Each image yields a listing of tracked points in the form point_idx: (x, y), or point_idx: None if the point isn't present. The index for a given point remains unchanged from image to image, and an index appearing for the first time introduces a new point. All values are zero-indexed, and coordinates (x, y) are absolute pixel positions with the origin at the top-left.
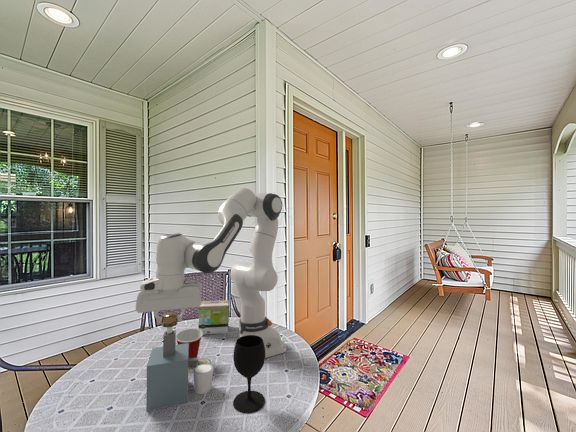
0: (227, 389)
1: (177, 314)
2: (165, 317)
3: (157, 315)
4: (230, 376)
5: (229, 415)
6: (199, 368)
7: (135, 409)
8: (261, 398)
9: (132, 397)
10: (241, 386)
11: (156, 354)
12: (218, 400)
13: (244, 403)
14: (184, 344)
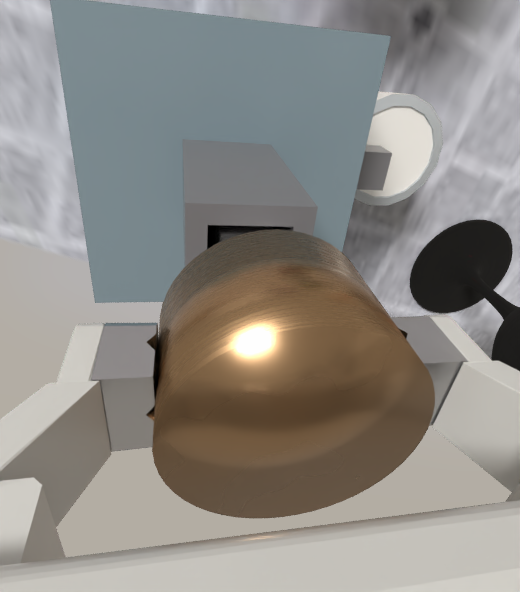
0: (433, 178)
1: (422, 435)
2: (223, 509)
3: (56, 498)
4: (488, 82)
5: (385, 302)
6: (373, 142)
7: (74, 170)
8: (496, 276)
9: (22, 63)
10: (485, 179)
11: (124, 163)
12: (380, 229)
13: (442, 285)
14: (351, 52)
